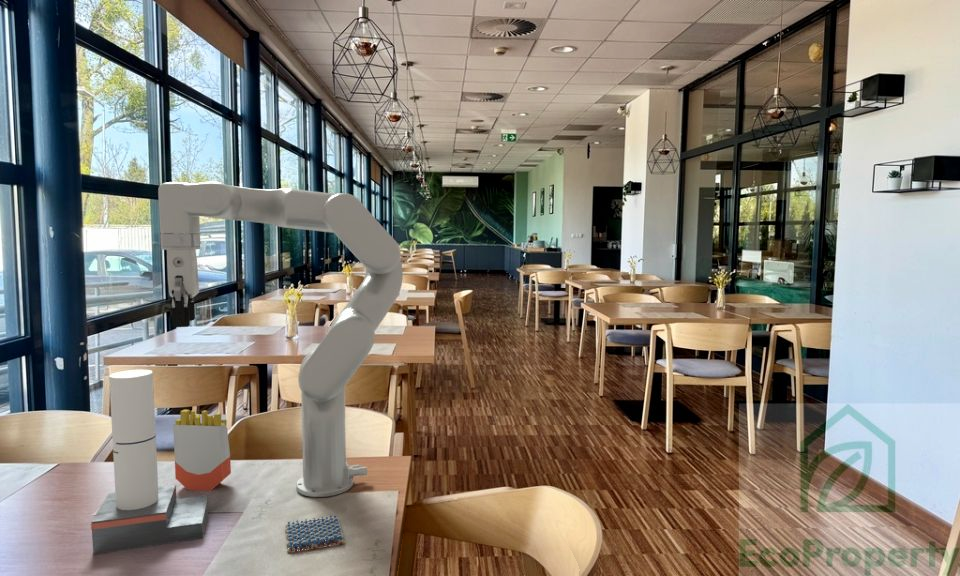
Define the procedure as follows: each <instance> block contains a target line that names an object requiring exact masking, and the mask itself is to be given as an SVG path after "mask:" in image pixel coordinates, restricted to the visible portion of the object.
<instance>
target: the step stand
mask: <svg viewBox="0 0 960 576" xmlns="http://www.w3.org/2000/svg"><path fill="white" fill-rule="evenodd" d="M158 497H159V499H158V501H157V502H155V503H154V504H152V505H150V506H147V507H144V508H140V509H135V510H121V509H118V508H117V507H116V495H115V491H113V492H108V494H107V495H106V497H105V498H104V500H103V502H102V504H101V506H100V507H99V509H98V511H97V512H96V514H95V515H94V517H93V519H92V521H91V523H90V526H91V527H90V529H91V538H92V554H93V555H94V554H95V555H97V554H103V553H109V552H115V551H116V552H117V551H122V550H123V551H124V550H131V549H137V548H138V549H139V548H145V547H150V546H158V545H164V544H165V545H166V544H170V543H172V544H173V543H178V542H185V541H192V540H193V541H194V540H199V539H203V537H204V534H205V529H206V524H207V519H208V515H209V510H210V509H209V508H210V505H209V495H208V494H206V495H198V496H189V497H182V498H177V485H176V484H173V485H165V486H158Z"/></svg>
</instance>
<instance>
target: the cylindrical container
mask: <svg viewBox="0 0 960 576" xmlns="http://www.w3.org/2000/svg"><path fill="white" fill-rule="evenodd" d="M153 375H154V372H153V371H152V370H150V369H128V370H123V371H122V370H121V371H116V372H113V373H111V374H109V375H108V380H109V383H108V384H109V398H110V401H109V402H110V417H111V420H110V421H111V433H112V434H111V435H112V455H113V469H114V470H113V471H114V472H113V473H114V476H113V477H114V492H115V495H116V507H117V508H118V509H121V510H135V509H140V508H144V507H147V506H150V505H152V504H154V503H155V502H157V501H158V499H159V497H158V487H159V481H158V480H159V479H158V478H159V477H158V459H157V458H158V457H157V456H158V455H157V454H158V453H157V437H156V434H157V433H156V418H155V417H156V414H155V396H154V395H155V394H154V393H155V392H154V376H153Z"/></svg>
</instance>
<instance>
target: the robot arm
mask: <svg viewBox="0 0 960 576" xmlns="http://www.w3.org/2000/svg"><path fill="white" fill-rule="evenodd" d="M157 193H158V211H159V212H158V213H159V214H158V216H159V231H160V235H159V236H160V250H162V251H163V250H164V251H166V261H167V262H166V263H167V264H166V266H167V267H166V268H167V284H168V293H169V296H170V297H171V298H172V299H171V300H172V301H171V306H172V307H171V323H172V325H171V326H172V328H186V327H187V328H188V327H190V325H191V323H190V322H191V321H194V320H195V319H196V308H195V303H196V302H195V301H194V298H195V297H196V296H197V295H198V294H199V293H200V286H199V285H200V284H199V283H200V282H199V271H198V270H199V269H198V258H197V257H198V256H197V251H196V250H201V249H202V248H201V246H202V245H201V225H200V223H201V221H200V217H204V218H205V217H206V218H211V219H222V220H229V221H230V220H231V221H242V222H252V223H260V224H267V225H272V226H275V227H280V228H287V229H296V230H307V231H316V232H325V233H334V234H335V236H336V237H337V238H338V240H340V242H342V244H343V245H344V246H345V247H346V248H347V249H348V250H349V251H350V252H351V253H352V254H353V256H354V257H356V259H358V261H359V262H360V263H361V264H362V266H364V268H365V274H364V278H363V280H362V281H361V284H360V285H359V286H358V288H357V290H355V293H354V294H353V295H352V297H351V298H350V300H349V301H348V302H347V303H346V305H345V306H344V307H343V309H342V310H341V311H340V312H339V313H338V314H337V316H336V317H335V318H334V319H333V320H332V322H331V324H330V329H329V330H328V332H327V333H326V334H325V336H324V337H323V339H322V340H321V342H320V343H319V344H318V345H317V347H316V348H314V349H313V350H311V351H309V352H308V353H307V354H306V355H305V357H303V359H302V361H301V363H300V367H299V372H298V379H297V381H298V382H297V383H298V386H299V389H300V391H301V393H300V394H301V395H300V396H301V444H302V445H301V446H302V449H301V451H302V477H301V478H299V479H297V481H296V484H295V488H296V492H298V493H299V494H301V495H302V496H307V497H311V498H312V497H313V498H325V497H331V496H332V497H333V496H336V495H340V494H343V493H345V492H347V491H349V490H350V489H351V488H352V487H353V485H354V477H358V476H359V477H363V476H368V468H367V466H361V465H360V464H354V465H350V464H348V462H347V455H346V453H347V452H346V451H347V450H346V449H347V448H346V447H347V446H346V388H345V387H346V385H347V384H348V383H349V382H350V381H351V378H352V377H353V376H354V375H355V374H356V372H357V371H358V369H359V368H360V367H361V365H362V364H363V362H364V361H365V359H366V358H367V356H368V355H369V354H370V352H371V350H372V348H373V346H374V344H375V340H376V339H375V337H376V331H377V329H378V327H380V324H381V323H382V322H383V320H384V318H385V317H386V315H387V314H388V312H389V311H390V310H391V308H392V307H393V305H394V304H395V302H396V300H397V298H398V296H399V294H400V291H401V288H402V284H403V278H404V277H403V274H404V273H403V272H404V271H403V264H402V263H403V262H402V260H401V248H400V245H399V244H398V242H397V241H396V240H395V239H394V237H393V236H392V235H391V234H390V233H389V232H388V231H387V230H386V229H385V227H384V226H383V225H381V224H380V222H379V221H378V220H377V218H376V217H374V215H373V214H372V213H371V212H370V211H369V210H368V209H367V207H366V206H365V205H364V204H363V203H362V201H361V200H360V199H359V198H357V197H356V196H355V195H353V194H350V193H346V192H340V193H329V192H323V191H322V192H321V191H314V190H313V191H312V190H306V189H297V188H288V187H286V188H278V189H262V188H250V187H243V186H235V185H228V184H226V183H224V182H220V181H205V182H198V183H195V182H194V183H189V182H177V181H176V182H175V181H173V182H171V181H169V182H163V183H161V184H160V185H159V186H158V191H157Z"/></svg>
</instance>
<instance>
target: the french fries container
mask: <svg viewBox="0 0 960 576" xmlns="http://www.w3.org/2000/svg"><path fill="white" fill-rule="evenodd" d="M227 421H228V420H227V419H226V418H225V419H224V418H223V419H222V413H220V412H216V413H214V414H208V410H202V411H201V416H200V414H198V413H196V410H195V409H193V410H190V409H183V410H180V418H179V419H176V420H175V423H174V424H172V425H173V426H172V430H173V448H174V450H173V452H174V471H175V472H174V473H175V480H177V481H178V482H179V483H180V484H181V486H183V487H184V488H185V489H186V490H187V489H188V490H191V491H210V490H211V491H212V490H213V489H214V488H216V487H217V486H218V485H220V484H221V483H222V482H223V481H224V480H225V479H226V478H228V476H230V475H231V473H232V465H231V464H232V463H231V452H230V451H231V449H230V443H229V433H228V427H227V425H228V424H227V423H228V422H227ZM219 483H220V484H219Z"/></svg>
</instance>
